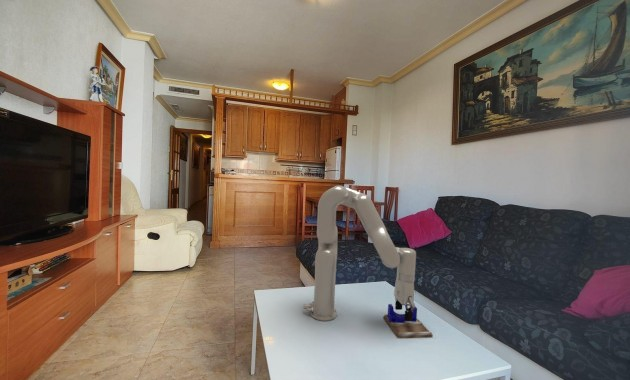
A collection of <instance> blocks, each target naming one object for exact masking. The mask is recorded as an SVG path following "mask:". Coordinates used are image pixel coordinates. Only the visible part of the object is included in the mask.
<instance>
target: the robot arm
mask: <svg viewBox="0 0 630 380" xmlns="http://www.w3.org/2000/svg"><path fill="white" fill-rule="evenodd" d="M339 205H343V206H345V207H347V208H351V209H354V211H355V213H356V214H357V217H358V219H359V220H360V222H361V224H362V226H363V228H364V230H365V232H366V234H367V236H368V237H369V239H370V241H371V242H372V244H373V246H374V248H375V250H376V252H377V254H378V256H379V258H380V260H381V262H382V264H383V265H384V266H385V267H387V268H388V269H396V279H395V284H394V293H393V294H394V298H395V304H394V310H396V311H397V310H399V311H400V310H402V311H403V306H404V307H405V310H404V314H405V321H411V320H412V313H413V311H414V308H415V306H416V304H415V302H414V301H415V283H414V282H415V278H416V277H415V276H416V261H417V251H416V250H415V249H413V248H410V247H409V248H408V247H396V246H395V244H394V242H393V240H392V239H391V236H390V235H389V233H388V230H387V228H386V226H385V224H384V222H383V220H382V218H381V216H380V214H379V212H378V211H377V208H376V206H375V205H374V202H373V201H372V199H371V198H370V196H369V195H367V194H366V193H362V192H359V191H357V190H354V189H351V188H348V187H346V186H343V185H334V186H333V187H331V188H329V189H327V190H326V191H324V192H323V194H322V195H321V196H320V198H319V201H318V204H317V216H316V217H317V219H316V224H317V225H316V236H317V242H318V249H317V251H316V254H315V257H314V258H315V259H314V288H313V289H314V290H313V291H314V293H313V301H311V302H312V303H310V304H303V310H306V312H309V315H310V316H311V317H312V318H313V319H316V320H318V321H323V322H324V321H326V322H327V321H333V320H334V319H336V317H338V311H337V309H336V308H335V296H336V274H337V259H338V234H339V233H338V231H339V230H338V226H337V209H338V206H339Z"/></svg>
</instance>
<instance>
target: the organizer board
mask: <svg viewBox="0 0 630 380" xmlns="http://www.w3.org/2000/svg"><path fill="white" fill-rule="evenodd" d="M382 318H383V320H384V322H385V323H386V325H387V326H388V327H389V329H390V330H391V331H392V333H393V334H394V335H395V336H396V338H397V339H413V338H414V339H416V338H417V339H418V338H433V334H432V333H433V332H431V331H430V330H429V329H428V328H427V327H426V326H425V325H424V324H423V322H422V321H420V320H419V319H418V318H417V319H416V322H411V321H404V323H394V322H390V321H389V319H388V313H386V314H385V313H384V316H383V317H382Z"/></svg>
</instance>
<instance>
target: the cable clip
mask: <svg viewBox="0 0 630 380" xmlns="http://www.w3.org/2000/svg"><path fill="white" fill-rule="evenodd" d="M387 314H388V319H389V321H390V322H394V323H404V321H405V313H397V312H396V311H395V306H393V304H392V303H389V304H388V305H387ZM417 316H418V307H416V305H415V308H414V311H413V313H412V320H411V322H416V319H418V318H417Z"/></svg>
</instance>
